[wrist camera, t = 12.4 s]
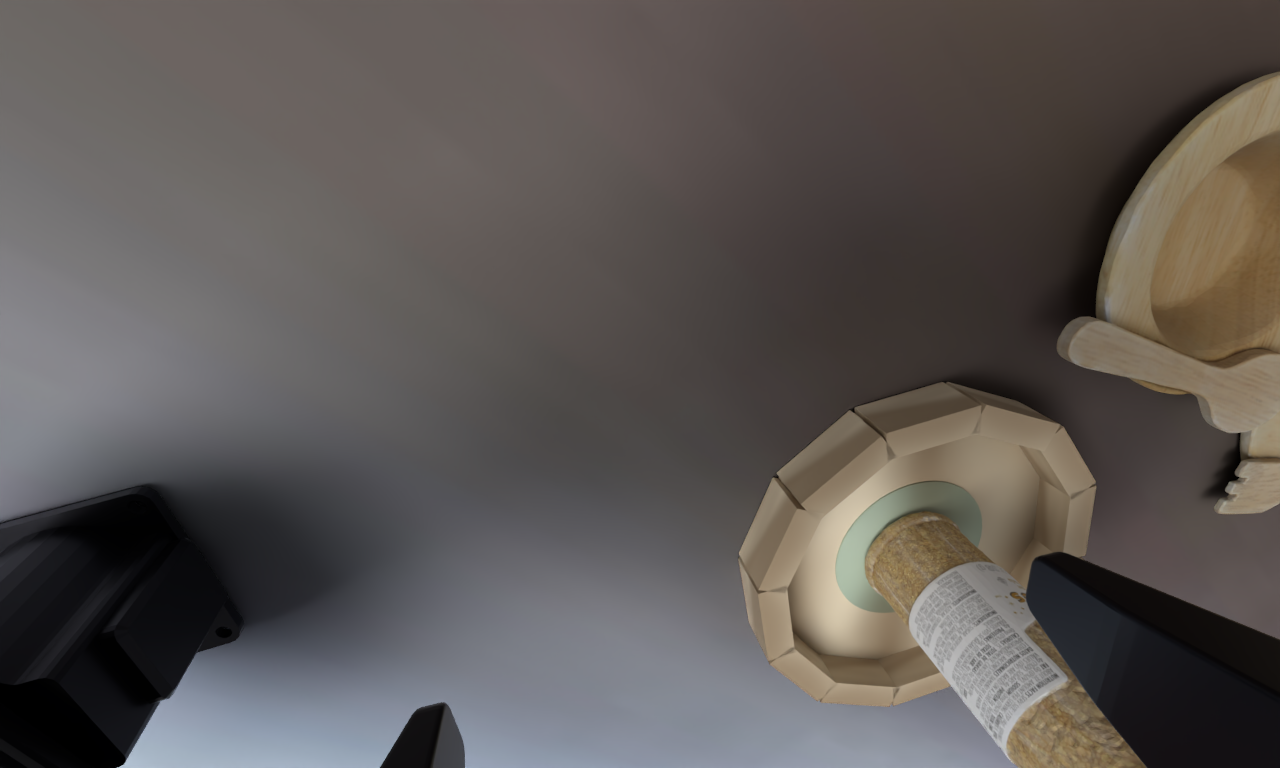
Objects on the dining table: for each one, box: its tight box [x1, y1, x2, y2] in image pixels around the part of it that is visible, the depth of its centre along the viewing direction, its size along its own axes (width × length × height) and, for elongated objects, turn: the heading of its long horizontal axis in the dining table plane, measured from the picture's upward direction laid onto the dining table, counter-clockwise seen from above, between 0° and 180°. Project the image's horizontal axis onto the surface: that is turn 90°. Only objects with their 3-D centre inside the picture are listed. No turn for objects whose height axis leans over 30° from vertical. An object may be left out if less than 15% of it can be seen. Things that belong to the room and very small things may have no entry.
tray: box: [738, 382, 1096, 707], centre depth 26 cm, size 15×15×2 cm
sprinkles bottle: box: [864, 511, 1147, 768], centre depth 21 cm, size 5×5×14 cm
